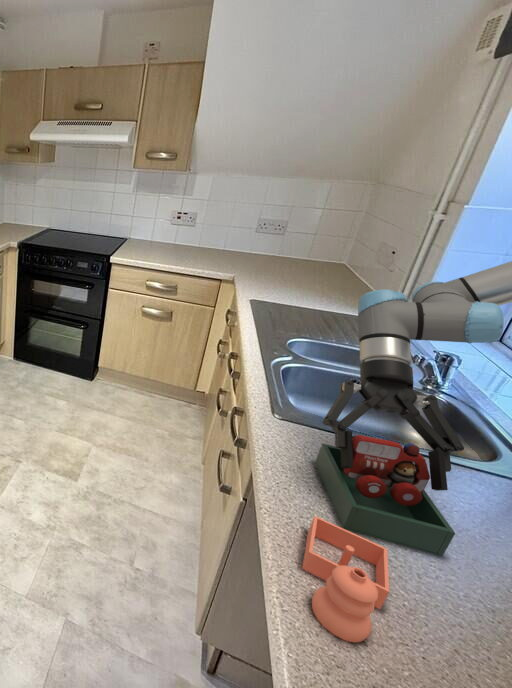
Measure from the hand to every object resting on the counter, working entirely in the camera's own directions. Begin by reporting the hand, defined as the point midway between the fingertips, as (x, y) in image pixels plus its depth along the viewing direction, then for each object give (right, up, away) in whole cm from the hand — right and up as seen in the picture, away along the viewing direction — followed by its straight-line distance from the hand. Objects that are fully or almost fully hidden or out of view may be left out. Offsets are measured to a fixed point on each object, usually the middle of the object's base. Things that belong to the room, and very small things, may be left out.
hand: (391, 478), depth 73 cm
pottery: (-18, -13, -10) cm, 24 cm away
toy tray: (+1, -7, +5) cm, 9 cm away
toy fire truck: (+1, -4, +4) cm, 5 cm away
